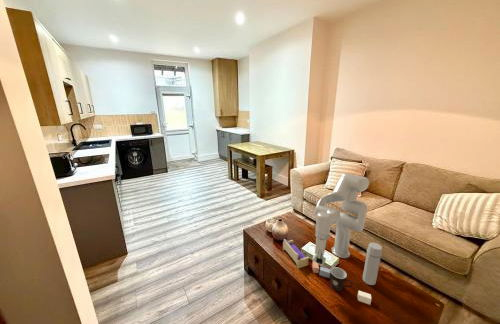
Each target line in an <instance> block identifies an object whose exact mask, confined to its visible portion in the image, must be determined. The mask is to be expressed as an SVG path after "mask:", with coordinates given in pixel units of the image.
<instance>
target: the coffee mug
mask: <svg viewBox="0 0 500 324" xmlns="http://www.w3.org/2000/svg"><path fill="white" fill-rule="evenodd" d="M345 282H349V283H350V284H351V285H345ZM330 287H331V289H332V290H333V291H335V292H342V290H343V288H351V287H353V282H352V281H351V280H350V279H347V272H346V271H345V270H344V269H342V268H340V267H336V266H334V267H331V268H330Z"/></svg>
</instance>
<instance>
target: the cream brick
mask: <svg viewBox="0 0 500 324" xmlns="http://www.w3.org/2000/svg"><path fill="white" fill-rule="evenodd" d="M357 301H358V302H361V303H364V304H367V305H369V306H371V303H372V294H370V293H368V292H364V291H361V290H358V291H357Z"/></svg>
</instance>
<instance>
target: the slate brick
mask: <svg viewBox="0 0 500 324" xmlns="http://www.w3.org/2000/svg"><path fill="white" fill-rule="evenodd" d="M318 274H319V276H321V277H323V278H328V279H330V278H331V268H330V269H329V268H326V267H324V266H320V267H319V273H318Z"/></svg>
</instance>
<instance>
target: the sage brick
mask: <svg viewBox="0 0 500 324" xmlns="http://www.w3.org/2000/svg"><path fill="white" fill-rule="evenodd" d="M322 258H323V260H322V264H319V263H318V266H320V267H324V264H326V260H327V258H326V257H324V255H323V256H322ZM316 260H317V254H315V253H314V254H313V257H312V262H313V261H315V262H316ZM316 263H317V262H316Z"/></svg>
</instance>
